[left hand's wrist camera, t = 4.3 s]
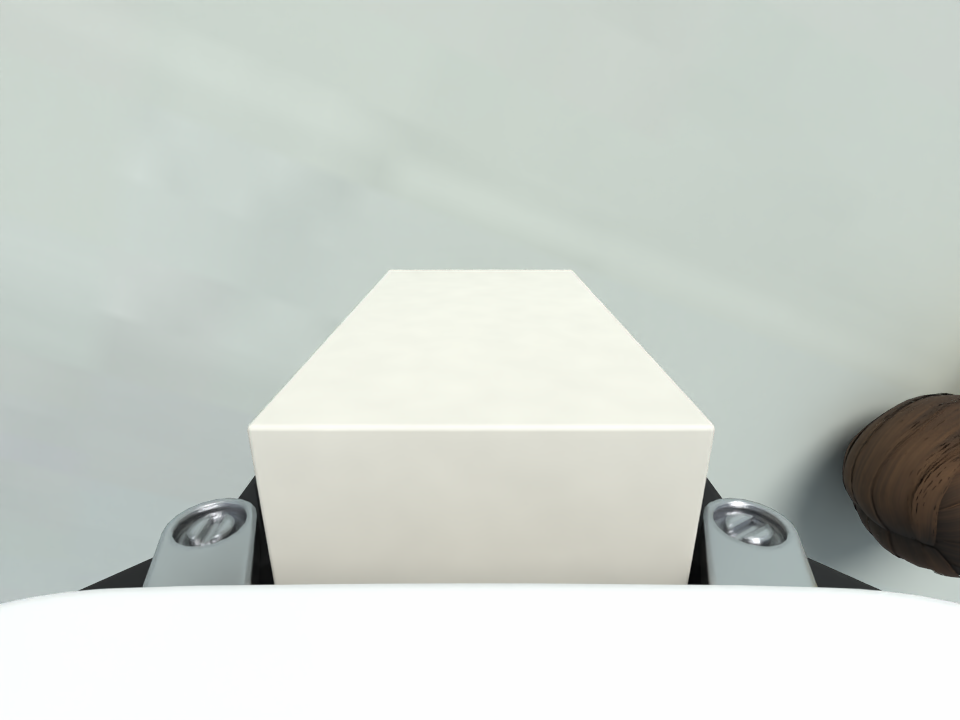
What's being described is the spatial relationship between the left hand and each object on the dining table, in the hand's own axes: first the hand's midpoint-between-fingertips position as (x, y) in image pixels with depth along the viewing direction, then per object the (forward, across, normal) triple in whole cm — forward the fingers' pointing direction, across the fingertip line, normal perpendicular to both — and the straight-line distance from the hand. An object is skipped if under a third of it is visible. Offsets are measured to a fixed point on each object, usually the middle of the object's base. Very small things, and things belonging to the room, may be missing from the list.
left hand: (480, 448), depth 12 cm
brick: (+5, 0, 0) cm, 5 cm away
